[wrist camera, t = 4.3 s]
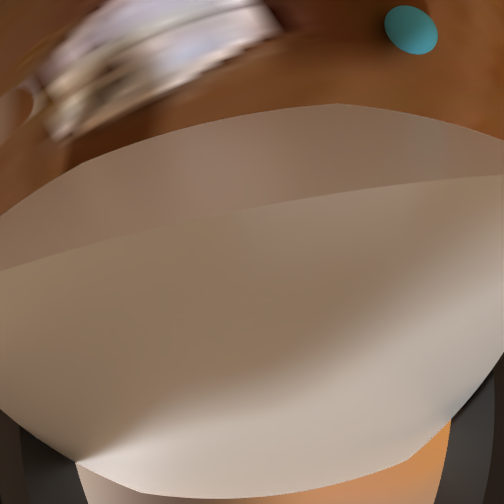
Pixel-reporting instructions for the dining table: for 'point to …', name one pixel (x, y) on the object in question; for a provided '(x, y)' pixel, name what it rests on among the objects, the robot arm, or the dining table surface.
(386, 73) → the dining table surface
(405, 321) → the off-white square block
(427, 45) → the ball
